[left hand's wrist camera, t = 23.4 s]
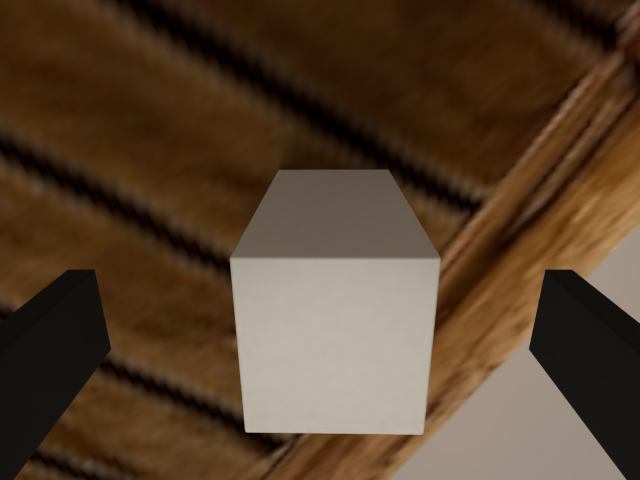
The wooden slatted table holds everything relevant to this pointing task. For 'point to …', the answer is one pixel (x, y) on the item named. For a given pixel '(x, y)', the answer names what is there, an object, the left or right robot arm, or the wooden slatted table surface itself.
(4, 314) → the wooden slatted table surface
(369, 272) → the block
